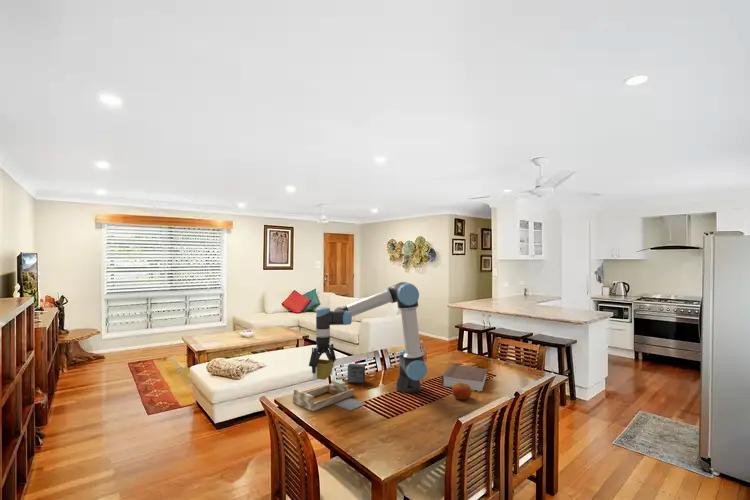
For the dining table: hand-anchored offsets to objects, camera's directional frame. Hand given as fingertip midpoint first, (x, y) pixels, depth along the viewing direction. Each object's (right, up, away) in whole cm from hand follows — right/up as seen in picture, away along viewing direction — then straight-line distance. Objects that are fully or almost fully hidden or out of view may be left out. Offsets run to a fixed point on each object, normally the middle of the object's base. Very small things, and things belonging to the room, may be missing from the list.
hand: (322, 376), depth 208 cm
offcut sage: (+8, -8, +10) cm, 15 cm away
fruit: (+78, -15, +6) cm, 79 cm away
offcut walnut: (+8, -14, +9) cm, 18 cm away
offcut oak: (+8, -11, +9) cm, 16 cm away
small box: (+17, -14, +31) cm, 38 cm away
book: (+87, -16, +35) cm, 95 cm away
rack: (+1, -13, +1) cm, 13 cm away
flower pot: (0, -1, 0) cm, 1 cm away
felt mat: (+15, -13, -6) cm, 21 cm away
